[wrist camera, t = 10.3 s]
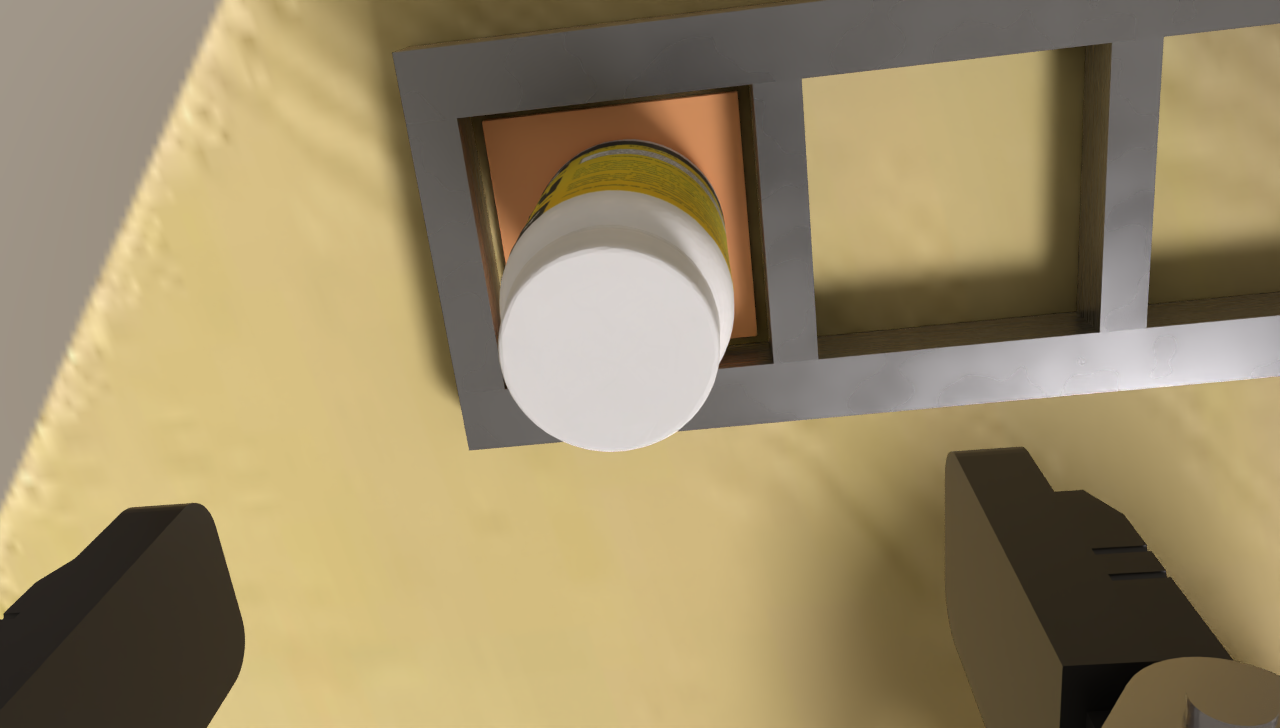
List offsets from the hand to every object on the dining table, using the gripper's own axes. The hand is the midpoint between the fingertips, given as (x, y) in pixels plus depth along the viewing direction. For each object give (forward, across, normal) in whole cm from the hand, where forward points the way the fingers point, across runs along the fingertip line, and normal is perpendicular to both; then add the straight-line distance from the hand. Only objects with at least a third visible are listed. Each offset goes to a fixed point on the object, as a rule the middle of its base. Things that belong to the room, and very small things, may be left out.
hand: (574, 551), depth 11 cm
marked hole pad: (+16, 0, 0) cm, 16 cm away
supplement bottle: (+16, 0, 0) cm, 16 cm away
